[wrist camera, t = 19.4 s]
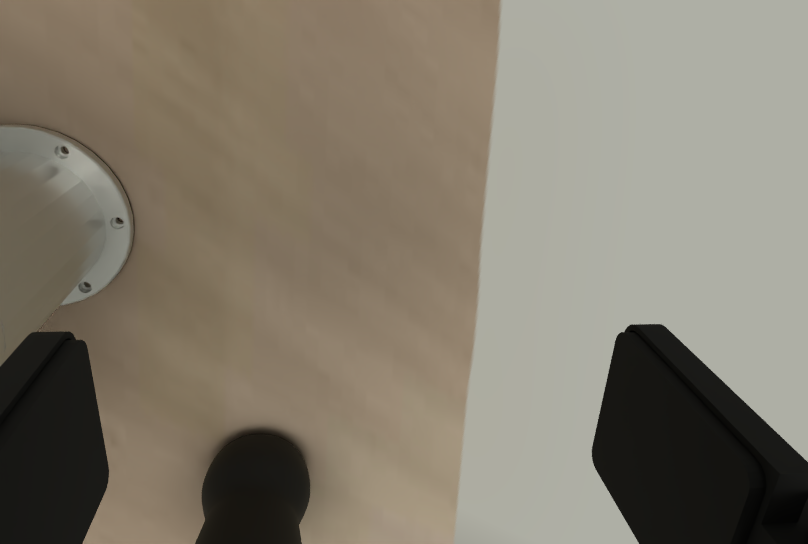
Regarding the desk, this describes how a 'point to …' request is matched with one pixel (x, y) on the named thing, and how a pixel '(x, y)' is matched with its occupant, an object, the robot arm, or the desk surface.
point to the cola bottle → (255, 493)
